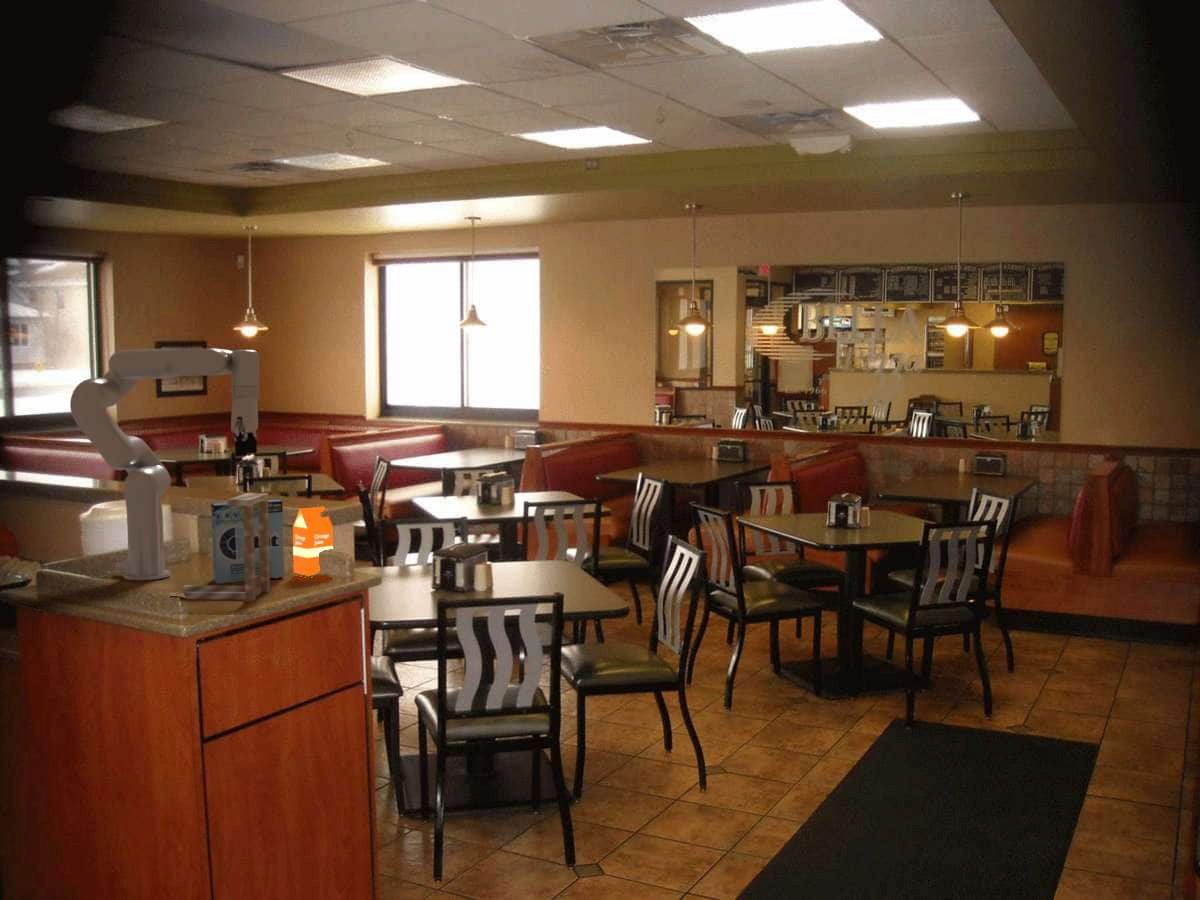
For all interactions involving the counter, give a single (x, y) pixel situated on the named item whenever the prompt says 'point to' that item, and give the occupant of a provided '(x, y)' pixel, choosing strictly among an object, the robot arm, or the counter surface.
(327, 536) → the orange juice
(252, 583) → the metal strip frame
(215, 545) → the gum box
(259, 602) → the counter surface
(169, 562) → the counter surface
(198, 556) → the counter surface
